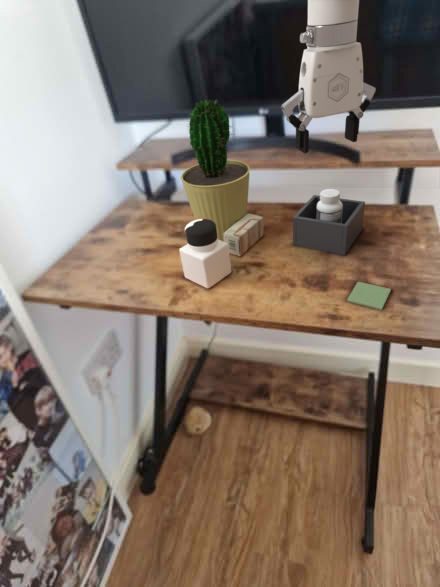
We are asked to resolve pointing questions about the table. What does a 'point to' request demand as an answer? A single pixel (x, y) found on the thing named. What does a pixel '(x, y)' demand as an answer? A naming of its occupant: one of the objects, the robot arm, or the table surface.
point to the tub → (328, 227)
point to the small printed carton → (244, 234)
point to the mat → (369, 295)
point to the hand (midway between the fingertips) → (327, 145)
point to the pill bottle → (329, 206)
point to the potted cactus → (215, 170)
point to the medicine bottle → (204, 254)
